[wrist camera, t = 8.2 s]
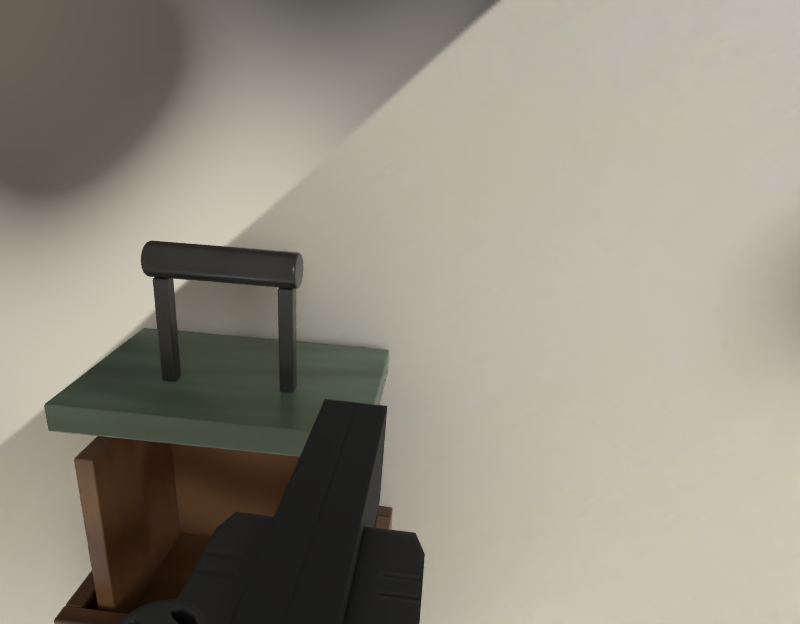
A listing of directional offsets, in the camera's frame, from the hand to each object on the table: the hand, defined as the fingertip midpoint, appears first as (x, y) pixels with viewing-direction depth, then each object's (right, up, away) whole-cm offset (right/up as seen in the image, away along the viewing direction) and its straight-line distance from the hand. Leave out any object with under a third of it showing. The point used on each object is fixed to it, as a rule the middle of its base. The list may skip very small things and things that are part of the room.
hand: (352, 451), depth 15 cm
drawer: (-6, -1, +16) cm, 17 cm away
